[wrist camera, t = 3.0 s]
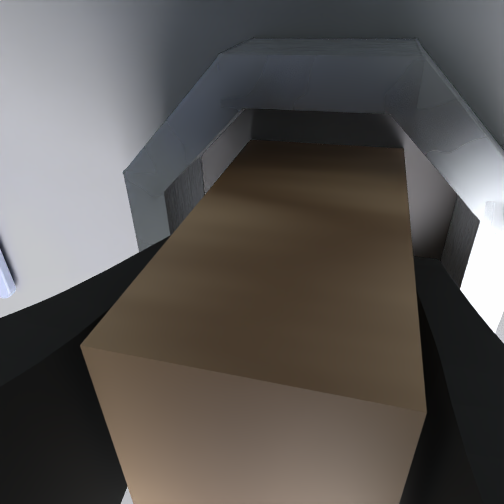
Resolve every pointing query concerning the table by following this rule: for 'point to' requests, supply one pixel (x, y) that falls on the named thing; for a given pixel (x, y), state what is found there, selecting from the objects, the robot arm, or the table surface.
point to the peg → (272, 338)
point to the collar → (337, 100)
